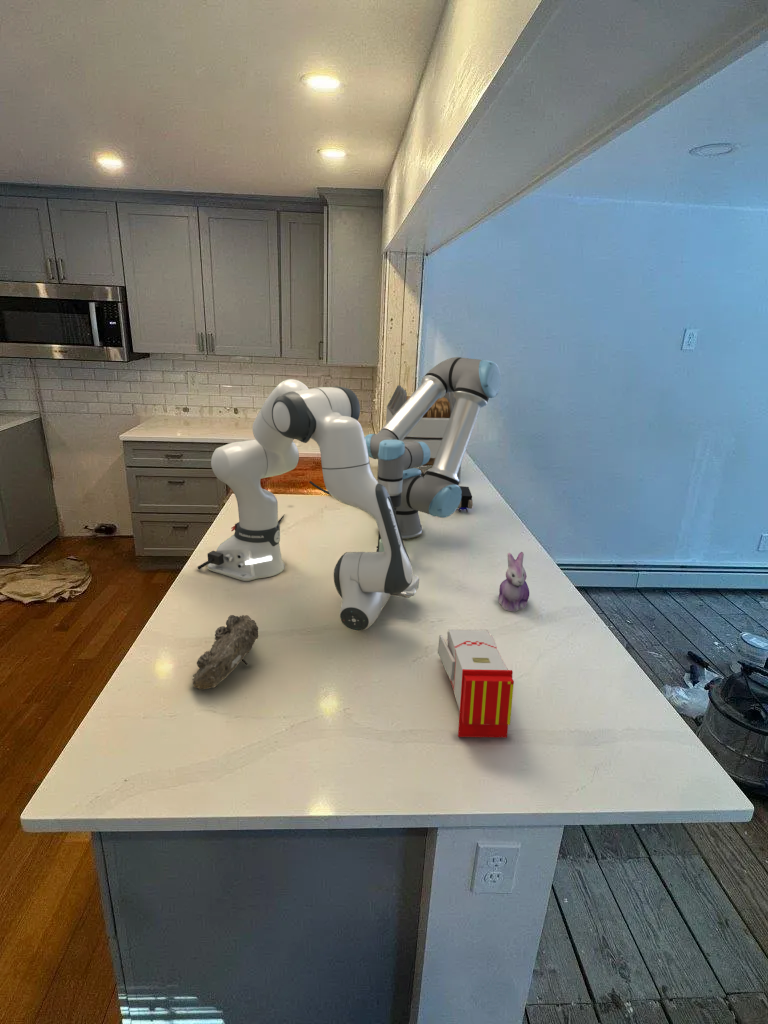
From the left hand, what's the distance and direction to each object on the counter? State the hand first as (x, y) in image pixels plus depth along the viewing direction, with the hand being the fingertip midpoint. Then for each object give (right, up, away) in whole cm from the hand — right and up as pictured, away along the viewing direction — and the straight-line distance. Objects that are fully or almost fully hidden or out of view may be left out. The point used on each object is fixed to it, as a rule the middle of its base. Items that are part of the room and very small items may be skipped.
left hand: (388, 568), depth 158 cm
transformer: (+16, +35, +116) cm, 123 cm away
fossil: (-35, -17, -34) cm, 52 cm away
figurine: (+34, -10, -4) cm, 36 cm away
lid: (-1, +4, +16) cm, 17 cm away
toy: (+17, -22, -40) cm, 48 cm away
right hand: (-1, 0, +18) cm, 18 cm away
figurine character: (+30, +17, +70) cm, 78 cm away
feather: (-39, +13, +51) cm, 65 cm away
